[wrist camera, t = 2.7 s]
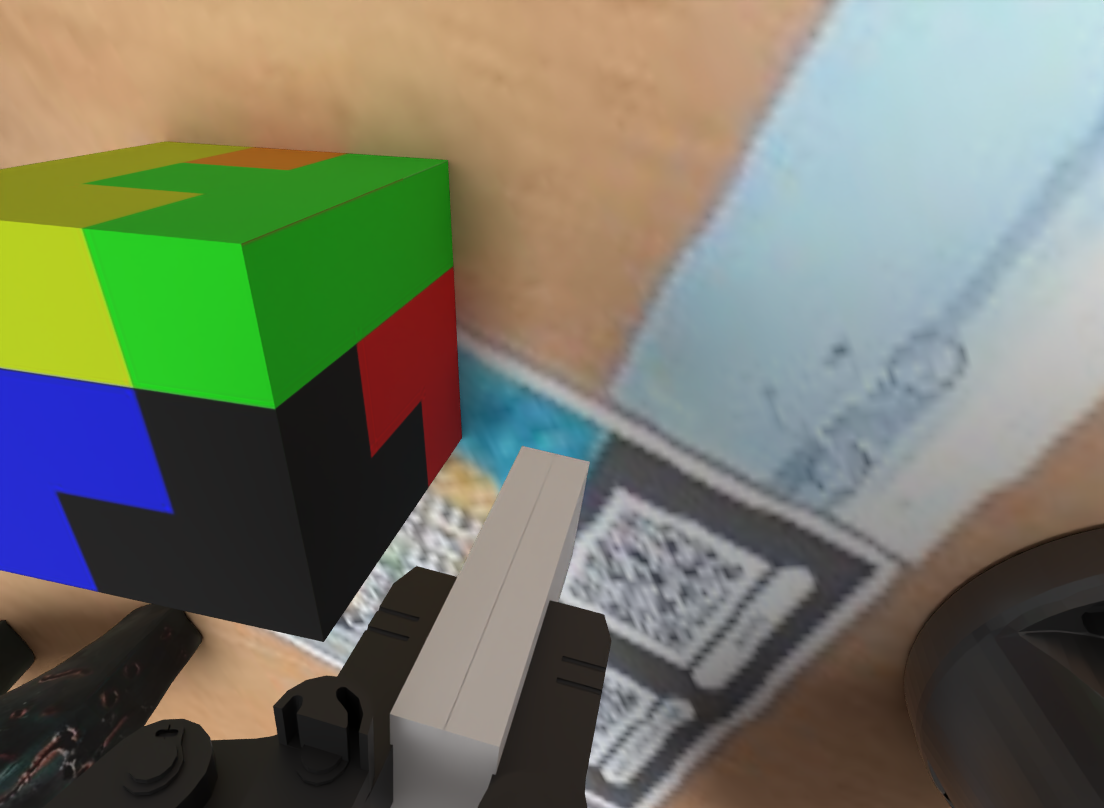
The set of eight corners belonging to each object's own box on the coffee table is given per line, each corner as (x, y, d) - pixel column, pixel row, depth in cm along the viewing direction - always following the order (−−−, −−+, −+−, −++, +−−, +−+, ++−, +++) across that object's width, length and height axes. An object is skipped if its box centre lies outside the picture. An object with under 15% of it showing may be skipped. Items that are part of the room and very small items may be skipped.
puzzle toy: (231, 402, 27) (-2, 569, 18) (167, 141, 22) (-193, 202, 13) (462, 437, 25) (323, 642, 16) (448, 159, 20) (241, 244, 11)
